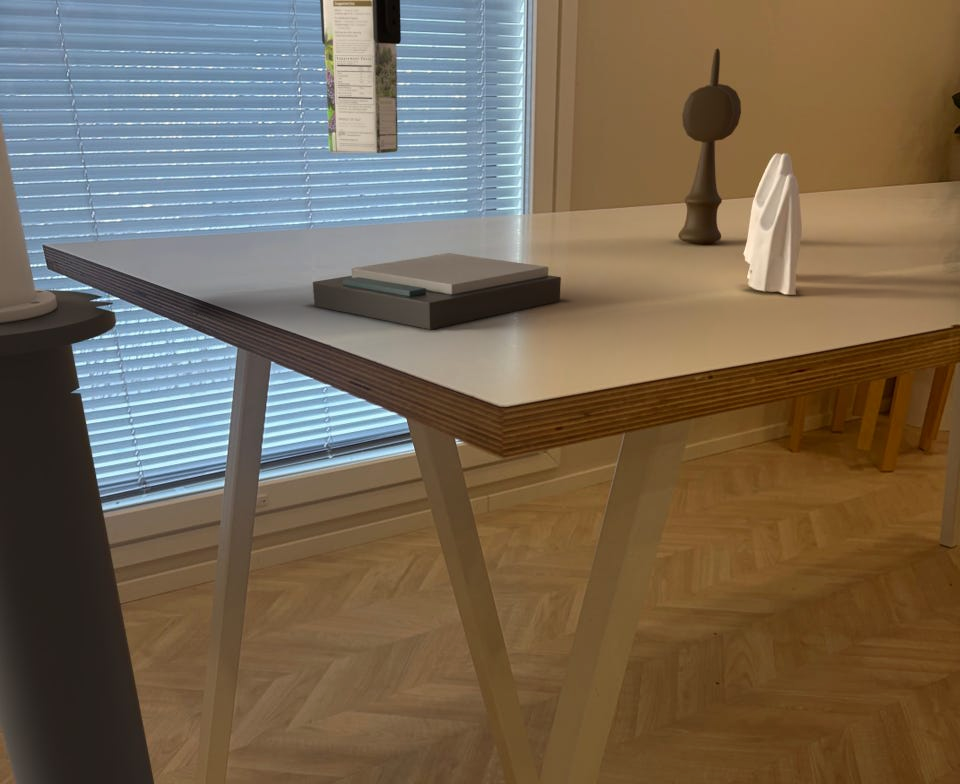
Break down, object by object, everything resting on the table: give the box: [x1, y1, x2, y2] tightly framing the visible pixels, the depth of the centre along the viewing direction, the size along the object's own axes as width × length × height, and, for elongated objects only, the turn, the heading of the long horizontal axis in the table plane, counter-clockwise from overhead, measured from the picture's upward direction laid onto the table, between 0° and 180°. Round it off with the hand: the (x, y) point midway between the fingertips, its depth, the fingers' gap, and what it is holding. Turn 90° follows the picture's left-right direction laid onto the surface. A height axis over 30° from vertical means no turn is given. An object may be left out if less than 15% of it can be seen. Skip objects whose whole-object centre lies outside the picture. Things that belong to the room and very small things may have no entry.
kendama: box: [677, 48, 742, 244], centre depth 117 cm, size 6×10×20 cm, turn 163°
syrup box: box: [323, 0, 399, 154], centre depth 107 cm, size 6×6×14 cm
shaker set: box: [743, 152, 803, 296], centre depth 94 cm, size 12×4×11 cm, turn 171°
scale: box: [312, 252, 562, 330], centre depth 88 cm, size 16×14×3 cm
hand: (361, 42), depth 105 cm, fingers closed on syrup box, 7 cm apart
